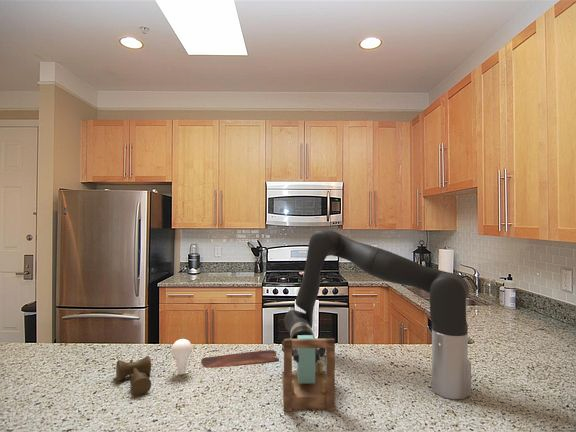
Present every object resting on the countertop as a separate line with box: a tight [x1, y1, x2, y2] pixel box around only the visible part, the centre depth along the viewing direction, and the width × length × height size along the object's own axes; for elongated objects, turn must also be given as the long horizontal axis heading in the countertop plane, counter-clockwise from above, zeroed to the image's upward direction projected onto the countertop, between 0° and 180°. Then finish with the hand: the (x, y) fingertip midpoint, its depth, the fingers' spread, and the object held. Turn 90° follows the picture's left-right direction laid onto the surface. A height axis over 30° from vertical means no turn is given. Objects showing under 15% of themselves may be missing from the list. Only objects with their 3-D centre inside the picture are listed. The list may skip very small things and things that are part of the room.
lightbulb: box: [171, 338, 193, 376], centre depth 107 cm, size 6×6×11 cm
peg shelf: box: [281, 337, 336, 413], centre depth 95 cm, size 13×16×18 cm
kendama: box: [115, 355, 152, 397], centre depth 102 cm, size 6×10×20 cm
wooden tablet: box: [200, 349, 280, 369], centre depth 119 cm, size 26×2×10 cm
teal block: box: [296, 335, 316, 384], centre depth 95 cm, size 4×6×11 cm
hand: (307, 358), depth 93 cm, fingers closed on teal block, 4 cm apart
